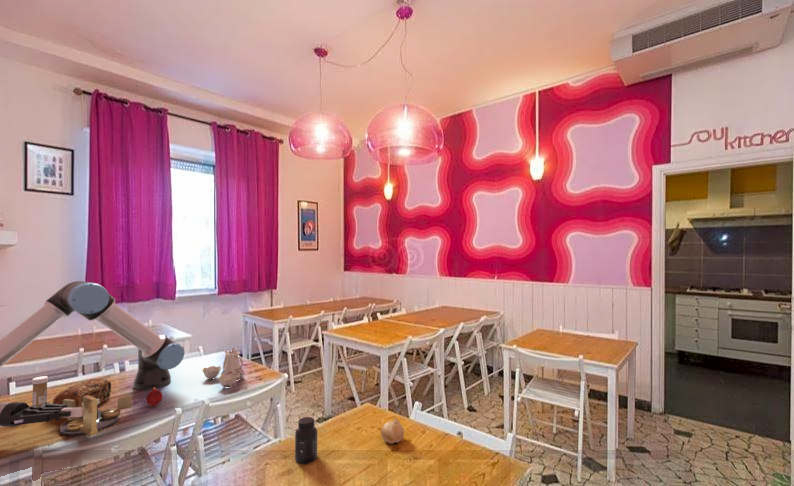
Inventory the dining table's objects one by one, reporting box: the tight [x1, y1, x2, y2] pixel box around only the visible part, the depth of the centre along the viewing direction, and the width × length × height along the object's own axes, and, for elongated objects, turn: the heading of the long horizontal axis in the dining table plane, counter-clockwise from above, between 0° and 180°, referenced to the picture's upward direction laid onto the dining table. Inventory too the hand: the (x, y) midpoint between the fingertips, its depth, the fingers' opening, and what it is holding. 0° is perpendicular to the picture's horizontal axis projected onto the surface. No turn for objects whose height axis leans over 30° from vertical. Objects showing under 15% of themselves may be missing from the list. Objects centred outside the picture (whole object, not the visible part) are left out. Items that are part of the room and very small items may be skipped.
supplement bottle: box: [294, 416, 318, 465], centre depth 120 cm, size 7×7×12 cm
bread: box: [52, 378, 112, 407], centre depth 156 cm, size 19×11×10 cm, turn 3°
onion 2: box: [380, 418, 405, 445], centre depth 131 cm, size 8×8×7 cm
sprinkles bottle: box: [31, 375, 49, 406], centre depth 152 cm, size 5×5×14 cm
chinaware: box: [202, 347, 245, 389], centre depth 187 cm, size 28×17×17 cm, turn 54°
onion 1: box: [145, 387, 163, 408], centre depth 157 cm, size 6×6×8 cm
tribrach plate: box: [59, 394, 133, 437], centre depth 142 cm, size 22×18×8 cm
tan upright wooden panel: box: [68, 395, 99, 437], centre depth 133 cm, size 14×6×12 cm, turn 61°
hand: (82, 411), depth 130 cm, fingers closed
